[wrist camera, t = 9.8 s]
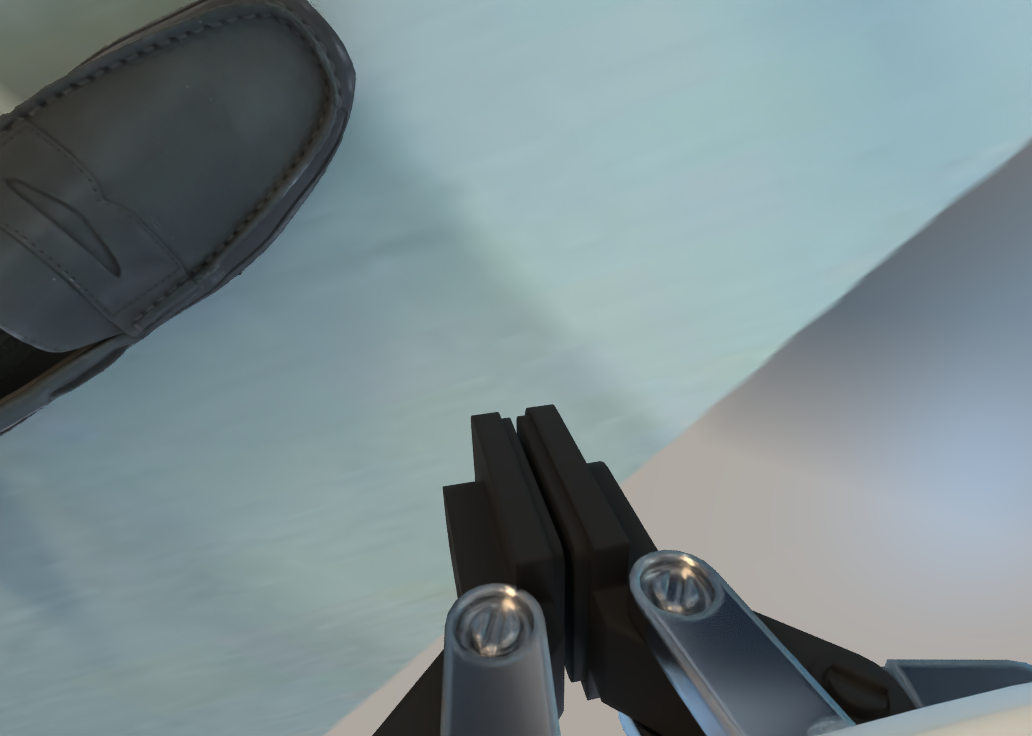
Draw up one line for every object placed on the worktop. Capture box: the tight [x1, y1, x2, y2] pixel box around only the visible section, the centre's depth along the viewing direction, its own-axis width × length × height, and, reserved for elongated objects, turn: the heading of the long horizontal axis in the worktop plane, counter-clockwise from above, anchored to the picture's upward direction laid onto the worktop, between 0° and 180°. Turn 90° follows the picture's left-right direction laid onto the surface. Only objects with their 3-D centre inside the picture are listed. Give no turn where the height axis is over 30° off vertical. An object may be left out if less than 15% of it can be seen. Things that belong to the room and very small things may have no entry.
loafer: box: [0, 0, 356, 436], centre depth 24 cm, size 10×29×10 cm, turn 130°
